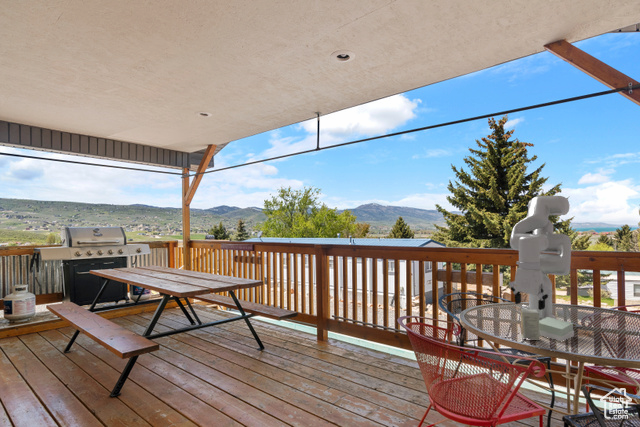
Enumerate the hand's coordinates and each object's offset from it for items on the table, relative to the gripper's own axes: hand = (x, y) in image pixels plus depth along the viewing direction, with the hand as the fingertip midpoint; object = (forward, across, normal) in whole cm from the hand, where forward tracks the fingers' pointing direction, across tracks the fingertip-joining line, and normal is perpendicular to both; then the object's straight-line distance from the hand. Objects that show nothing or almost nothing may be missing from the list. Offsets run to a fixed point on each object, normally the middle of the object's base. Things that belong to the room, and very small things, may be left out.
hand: (529, 306), depth 149 cm
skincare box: (+14, 0, +1) cm, 15 cm away
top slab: (+12, +4, +12) cm, 17 cm away
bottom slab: (+15, +4, +12) cm, 20 cm away
